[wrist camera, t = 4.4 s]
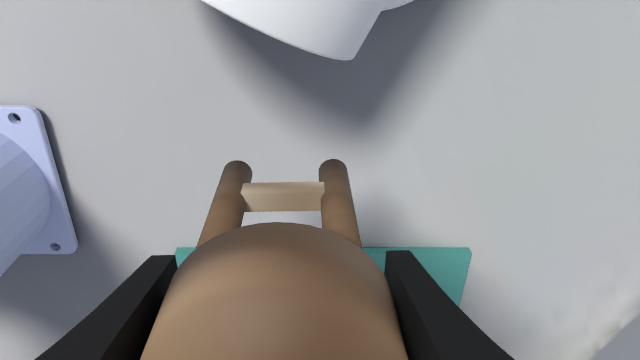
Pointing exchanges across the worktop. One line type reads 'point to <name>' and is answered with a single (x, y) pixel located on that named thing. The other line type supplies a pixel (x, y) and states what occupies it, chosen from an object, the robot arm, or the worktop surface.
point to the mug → (311, 22)
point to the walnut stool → (278, 280)
